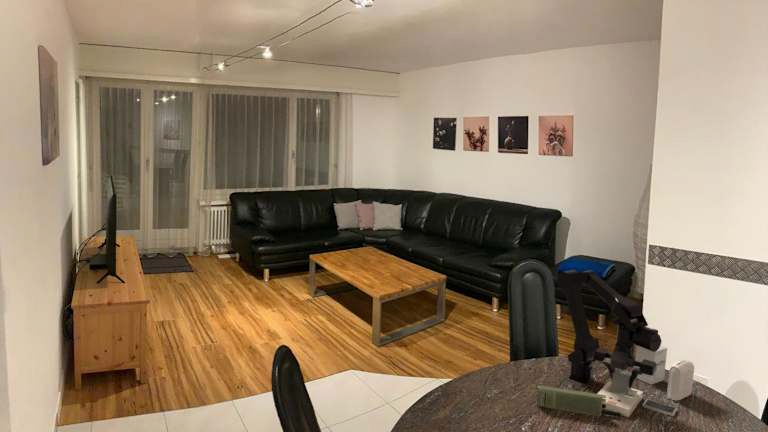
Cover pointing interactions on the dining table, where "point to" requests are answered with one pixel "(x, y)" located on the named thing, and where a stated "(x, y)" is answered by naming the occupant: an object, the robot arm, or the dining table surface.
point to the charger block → (621, 380)
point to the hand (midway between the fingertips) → (621, 385)
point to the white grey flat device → (620, 399)
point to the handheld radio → (572, 401)
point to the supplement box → (655, 357)
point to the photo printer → (680, 380)
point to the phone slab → (659, 407)
